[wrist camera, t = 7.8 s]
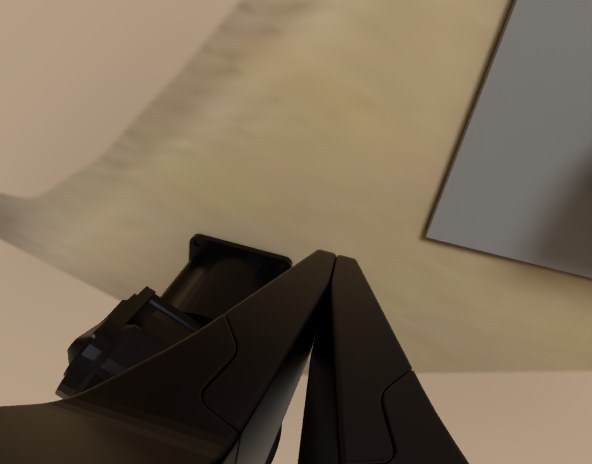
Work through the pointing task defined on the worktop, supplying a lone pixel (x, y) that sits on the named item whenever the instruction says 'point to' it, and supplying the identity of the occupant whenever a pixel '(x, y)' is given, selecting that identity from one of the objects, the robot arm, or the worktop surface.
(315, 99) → the worktop surface
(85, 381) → the robot arm
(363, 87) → the worktop surface
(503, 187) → the mat
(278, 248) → the worktop surface
